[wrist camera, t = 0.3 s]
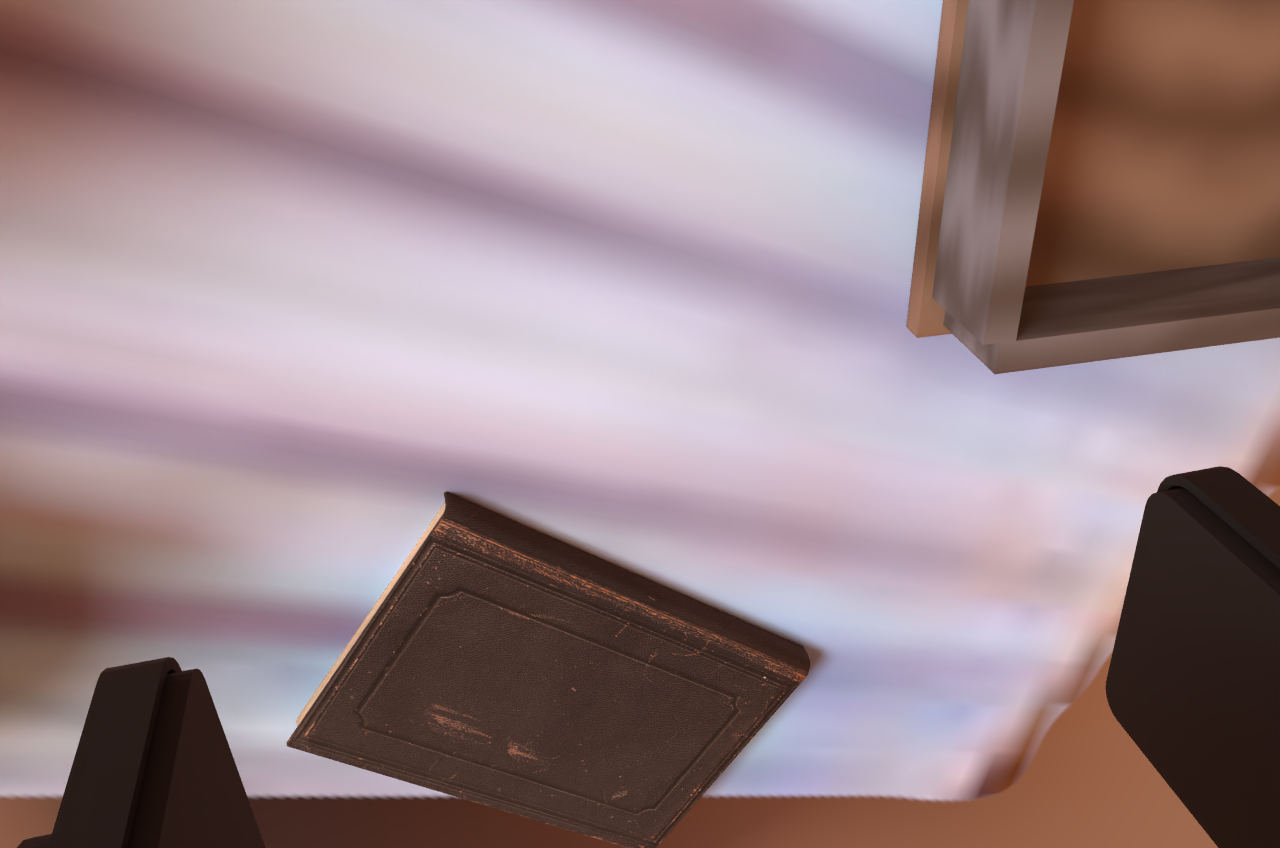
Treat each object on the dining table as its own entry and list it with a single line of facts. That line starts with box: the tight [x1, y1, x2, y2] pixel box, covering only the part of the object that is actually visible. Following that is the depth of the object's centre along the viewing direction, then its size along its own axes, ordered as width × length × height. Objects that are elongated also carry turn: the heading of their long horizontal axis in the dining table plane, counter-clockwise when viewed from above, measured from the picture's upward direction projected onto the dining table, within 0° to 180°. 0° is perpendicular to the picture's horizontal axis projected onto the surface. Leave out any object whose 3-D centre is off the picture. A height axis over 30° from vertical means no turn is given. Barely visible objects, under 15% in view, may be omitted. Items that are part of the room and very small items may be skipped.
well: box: [907, 0, 1280, 374], centre depth 47 cm, size 20×24×6 cm
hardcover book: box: [287, 492, 810, 848], centre depth 59 cm, size 16×23×2 cm
